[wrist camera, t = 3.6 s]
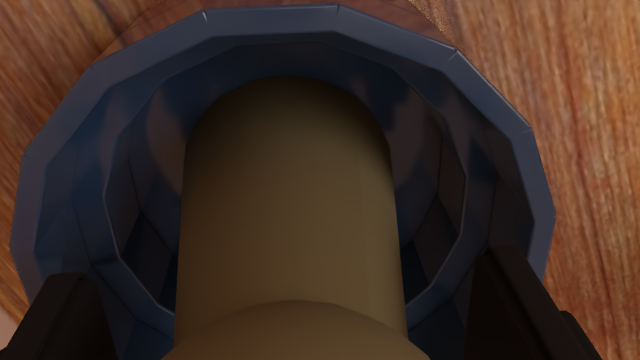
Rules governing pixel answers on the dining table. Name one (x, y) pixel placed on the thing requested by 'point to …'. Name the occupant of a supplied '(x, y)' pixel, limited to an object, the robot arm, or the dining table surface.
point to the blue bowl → (233, 71)
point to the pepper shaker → (289, 230)
